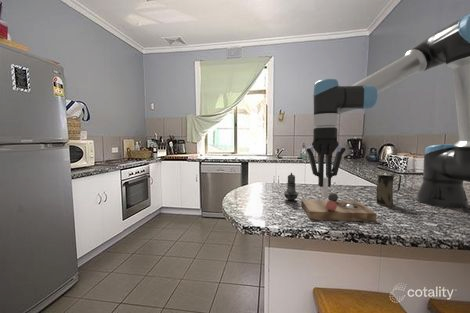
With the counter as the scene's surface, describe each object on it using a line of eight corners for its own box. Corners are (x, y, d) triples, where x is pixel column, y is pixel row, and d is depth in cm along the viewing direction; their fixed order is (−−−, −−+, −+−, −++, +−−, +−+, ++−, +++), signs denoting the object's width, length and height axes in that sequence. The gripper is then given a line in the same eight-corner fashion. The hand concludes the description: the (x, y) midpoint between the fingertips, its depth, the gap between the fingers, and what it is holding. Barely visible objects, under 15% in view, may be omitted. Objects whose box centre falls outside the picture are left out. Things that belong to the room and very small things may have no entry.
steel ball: (353, 210, 78) (350, 201, 78) (357, 213, 75) (354, 204, 75) (344, 213, 79) (341, 204, 79) (348, 216, 75) (345, 207, 75)
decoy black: (335, 200, 84) (336, 192, 84) (339, 202, 81) (339, 194, 81) (327, 200, 84) (327, 191, 84) (329, 202, 81) (330, 193, 81)
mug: (379, 205, 86) (381, 174, 85) (373, 201, 91) (374, 172, 90) (402, 206, 84) (404, 175, 83) (395, 202, 90) (396, 173, 89)
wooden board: (356, 207, 83) (356, 201, 83) (376, 221, 69) (376, 213, 69) (301, 206, 85) (301, 199, 85) (309, 219, 71) (309, 211, 71)
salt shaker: (299, 204, 88) (299, 173, 87) (283, 203, 89) (284, 173, 88) (297, 200, 94) (298, 171, 93) (283, 199, 95) (283, 171, 94)
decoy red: (334, 209, 73) (335, 199, 73) (338, 212, 70) (338, 202, 70) (324, 208, 74) (324, 199, 74) (327, 212, 71) (327, 202, 70)
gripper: (341, 127, 79) (340, 193, 81) (303, 128, 80) (303, 193, 82) (349, 126, 72) (348, 198, 74) (307, 127, 73) (307, 198, 75)
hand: (324, 195), depth 78 cm, fingers closed
